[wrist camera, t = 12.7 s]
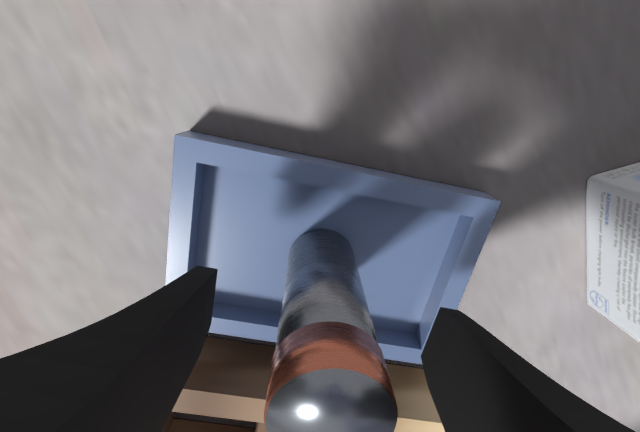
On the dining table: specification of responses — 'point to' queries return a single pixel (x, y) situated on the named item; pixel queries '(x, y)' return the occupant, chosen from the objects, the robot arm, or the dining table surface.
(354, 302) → the grey orange cylinder
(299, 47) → the dining table surface
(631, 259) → the light bulb box
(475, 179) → the dining table surface
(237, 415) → the square wooden frame
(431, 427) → the light wood square frame
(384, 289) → the tray
